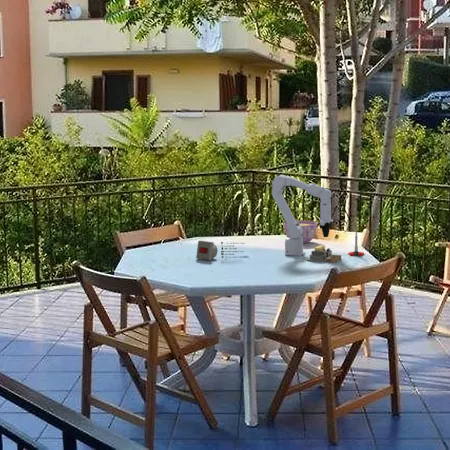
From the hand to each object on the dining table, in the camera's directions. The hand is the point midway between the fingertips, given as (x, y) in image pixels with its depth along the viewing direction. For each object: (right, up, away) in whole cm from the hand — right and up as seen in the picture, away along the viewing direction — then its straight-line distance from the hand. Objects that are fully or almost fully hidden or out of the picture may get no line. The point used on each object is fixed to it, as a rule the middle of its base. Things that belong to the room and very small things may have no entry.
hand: (325, 236), depth 425 cm
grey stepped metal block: (-4, -11, -8) cm, 14 cm away
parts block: (+2, -12, -14) cm, 19 cm away
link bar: (-4, -8, -10) cm, 13 cm away
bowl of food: (-10, -4, +42) cm, 43 cm away
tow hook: (+16, -10, +1) cm, 19 cm away
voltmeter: (-57, -12, -3) cm, 58 cm away
